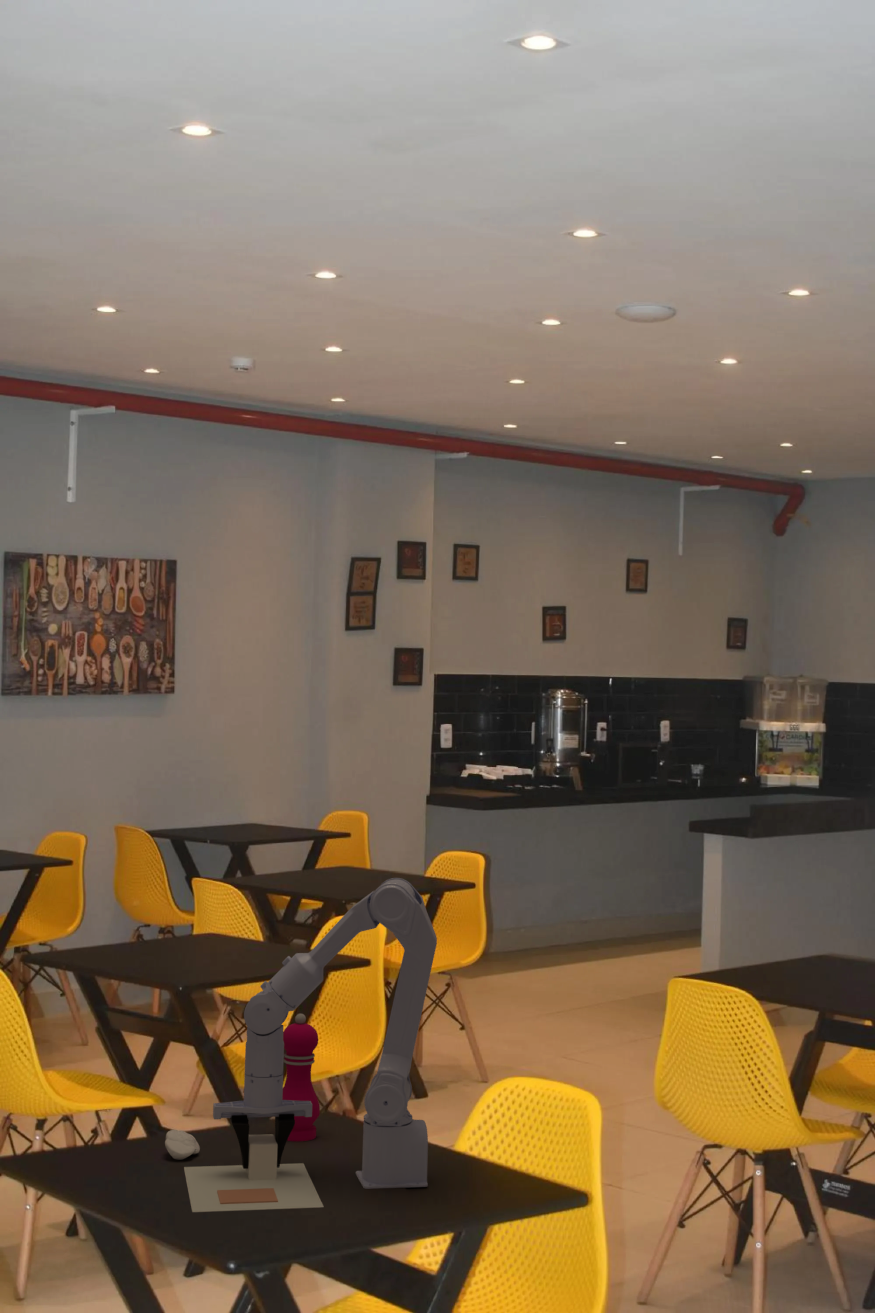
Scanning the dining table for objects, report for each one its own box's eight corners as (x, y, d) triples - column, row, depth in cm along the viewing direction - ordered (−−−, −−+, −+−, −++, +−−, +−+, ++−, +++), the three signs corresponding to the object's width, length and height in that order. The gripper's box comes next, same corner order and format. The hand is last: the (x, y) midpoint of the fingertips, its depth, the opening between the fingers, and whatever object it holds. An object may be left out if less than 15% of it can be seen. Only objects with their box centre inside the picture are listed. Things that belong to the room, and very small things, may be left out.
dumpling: (169, 1152, 241) (170, 1126, 241) (202, 1153, 240) (203, 1127, 241) (160, 1165, 234) (161, 1138, 234) (194, 1166, 233) (195, 1139, 234)
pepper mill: (274, 1132, 254) (278, 1009, 255) (318, 1132, 255) (322, 1010, 256) (274, 1144, 247) (278, 1017, 248) (319, 1144, 248) (323, 1018, 249)
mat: (303, 1165, 235) (303, 1163, 235) (323, 1209, 213) (323, 1207, 213) (183, 1169, 231) (183, 1167, 231) (192, 1214, 210) (192, 1212, 210)
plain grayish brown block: (271, 1168, 232) (273, 1134, 232) (276, 1179, 226) (277, 1145, 226) (245, 1169, 231) (246, 1135, 231) (249, 1180, 225) (250, 1145, 225)
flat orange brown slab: (273, 1189, 221) (273, 1188, 221) (278, 1202, 215) (278, 1200, 215) (217, 1191, 219) (217, 1190, 219) (220, 1204, 213) (220, 1203, 213)
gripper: (308, 1067, 235) (306, 1157, 234) (212, 1068, 232) (209, 1160, 231) (315, 1077, 228) (312, 1170, 227) (216, 1079, 225) (213, 1174, 224)
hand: (260, 1166), depth 229 cm, fingers closed on plain grayish brown block, 4 cm apart
